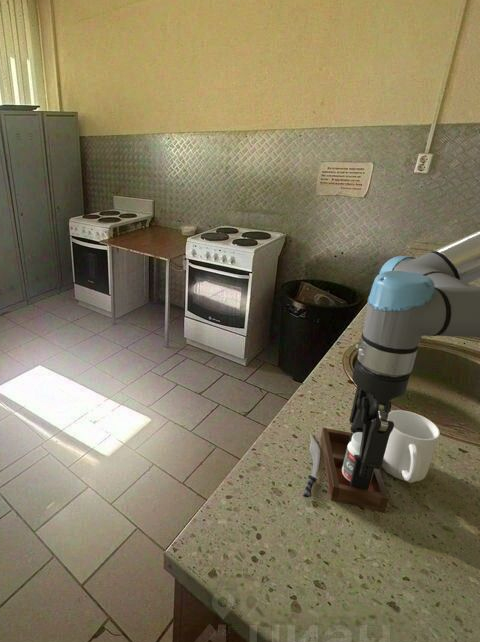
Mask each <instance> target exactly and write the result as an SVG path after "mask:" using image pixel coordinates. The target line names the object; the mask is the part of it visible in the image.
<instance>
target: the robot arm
mask: <svg viewBox="0 0 480 642" xmlns="http://www.w3.org/2000/svg"><path fill="white" fill-rule="evenodd" d="M479 279H480V230H478V231H475V232H473V233H470V234H468V235H466V236H463V237H461V238H459V239H457V240H455V241H453V242H450V243H448V244H446V245H443V246H441V247H439V248H437V249H434V250H433V251H430V252H427V253H425V254H423V255H421V256H418V257H414V256H408V255H397V256H394V257H392V258H390V259H388V260H387V261H386V262H385V263H384V264H383V265H382V266H381V268H380V270H379V274H378V275H376V276H375V278H374V280H373V284H372V286H371V289H370V293H369V296H368V297H367V307H366V312H365V317H364V322H363V327H362V330H361V331H362V332H361V337H360V342H359V343H356V344H355V349H356V350H357V356H356V358H357V359H356V360H355V363H354V368H353V372H352V377H351V378H352V382H353V384H354V385H355V386H356V389H355V394H354V399H353V403H352V407H351V411H350V416H349V419H348V421H349V423H350V424H351V426H350V433H353V434H354V433H357V432H362V439H361V446H360V453H359V455H354V459H355V464H354V468H353V472H352V476H351V481H350V485H351V486H352V487H356V488H361V489H365V490H368V488H369V485H370V481H371V477H372V473H373V470H374V468H375V469H379V470H381V469H382V467H381V466H382V462H383V458H384V454H385V451H386V447H387V443H388V440H389V436H390V434H391V432H392V430H393V428H394V423H393V421H387V419H388V414H389V412H391V411H392V402H391V400H394V399H397V398H400V397H402V396H404V395H405V393H406V392H407V388H408V386H409V385H408V384H409V382H410V381H409V380H410V377H411V372H412V371H413V368H414V365H415V360H416V357H417V354H418V350H419V345H420V343H421V340H422V337H425V336H426V337H463V338H464V337H465V338H466V337H467V338H468V337H469V338H473V337H474V338H480V286H475V285H472V284H470V283H472V282H475V281H478V280H479ZM353 434H351V435H350V440H349V442H351V439H352V436H353Z"/></svg>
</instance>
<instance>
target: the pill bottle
mask: <svg viewBox="0 0 480 642" xmlns="http://www.w3.org/2000/svg"><path fill="white" fill-rule="evenodd" d="M361 439H362V432H357V433H354V434H353V436H352V439H351V442H349V444H348V446H347V450H346V454H345V458H344V463H343V467H342V473H343V475H344V477H345V478H346V479H347V480H349V481H351V476H352V472H353V468H354V464H355V459H354V455H359V453H360V446H361ZM374 469H375V468H374ZM373 473H374V470H373ZM373 473H372V476H373ZM371 480H372V477H371ZM370 482H371V481H370Z"/></svg>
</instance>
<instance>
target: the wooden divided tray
mask: <svg viewBox="0 0 480 642" xmlns="http://www.w3.org/2000/svg"><path fill="white" fill-rule="evenodd" d="M351 434H353V432H351V431H350V432H349V431H344V430H339V429H333V428H327V427H322V429H321V434H320V440H319V441H320V445H321V452H322V457H323V463H324V468H325V470H324V471H325V475H326V480H327V487H328V493H329V498H330V501H332V502H337V503H341V504H345V505H349V506H353V507H357V508H363V509H367V510H371V511H375V512H379V513H382V514H383V513H384V514H385V513H386V510H387V507H388V504H389V500H390V499H389V495H388V492H387V489H386V486H385V484H384V480H383V477H382V474H381V470H380V469H374V473H373V476H372V480H371V482H370V485H369V488H368V490H365V489H361V488H356V487H352V486H351V485H350V481H349V480H347V479H346V478H345V477H344V475H343V473H342V467H343V463H344V458H345V454H346V450H347V446H348V444H349V440H350V435H351Z"/></svg>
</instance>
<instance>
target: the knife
mask: <svg viewBox="0 0 480 642" xmlns="http://www.w3.org/2000/svg"><path fill="white" fill-rule="evenodd" d="M309 435H310V436H309V437H310V445H309V449H308V450H309V452H310V455H311V458H312V469H311V473H310V474H309V475H308V481H307V483H306V486H305V491H304V493H303V494H302V497H303V498H311V497H312V495H313V494H312V488H313V486H314V483H315V482H317V481H318V480H317V475H318V471H319V466H320V459H321V448H320V446H319V444H318V443H317V441H316V439H315V438H314V436H313V435H312V433H311V432H309Z"/></svg>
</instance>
